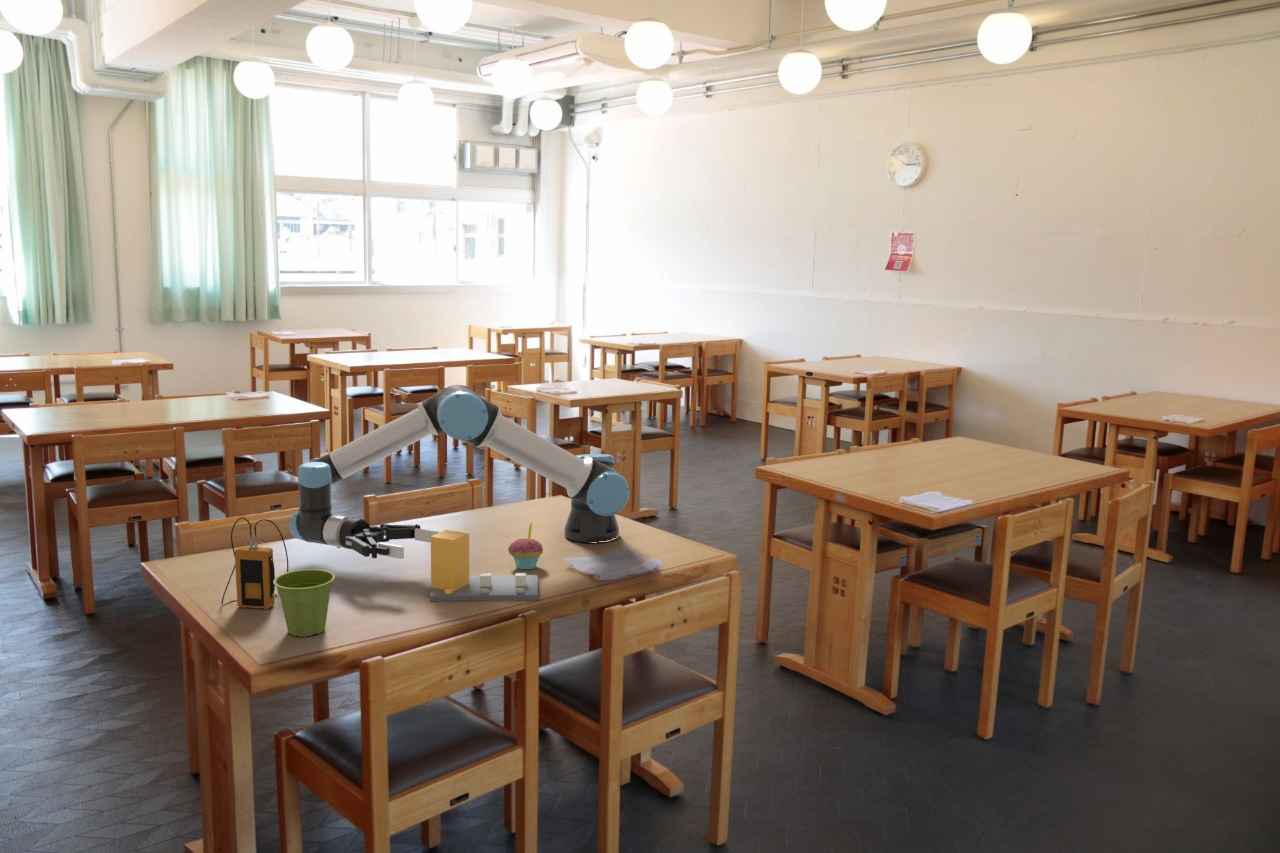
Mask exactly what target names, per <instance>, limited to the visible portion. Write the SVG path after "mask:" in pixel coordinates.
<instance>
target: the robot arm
mask: <svg viewBox="0 0 1280 853" xmlns="http://www.w3.org/2000/svg"><path fill="white" fill-rule="evenodd" d="M442 433H445V434H446V435H447V436H449V437H450V438H452V439H455V440H457V441H463V442H465V443H468V444H469V445H471V446H472V447H475V448H482V447H487V448H490V449H491V450H493V451H495V452H497V453H499V454H500V455H503V456H505V457H506V458H509V459H510V460H512V461H514V462H516V463H518V464H519V465H521V466H524V468H525V467H526V468H527V469H529V470H531V471H533V472H534V473H537V474H539V475H541V476H542V477H544V478H546V479H548V480H550V481H552V482H553V483H555V484H557V485H560V487H563V488H565V489H566V493H567V496H568V497H569V498H571V499H570V501H571V502H570V504H571V505H570V507H571V508H570V511H569V514H568V517H567V519H566V523H565V526H564V534H563V535H565V536H564V538H565V539H567V538H568V539H567V540H569V539H570V540H569V541H571V540H574V541H573V542H575V541H580V542H579V543H581V542H599V541H607V540H611V539H613V538H616V537H617V536H618V535H619V536H620V527H619V525H618V521H617V520H618V519H617V517H616V514H618V513H620V512H621V511H622V510H623V509H624V508H625V507H626V505H627V504H628V502H629V498H630V493H631V491H630V486H629V483H628V481H627V479H626V478H625V476H624V475H622V474H621V473H620V472H618V471H617V470H616V469H615V465H616V462H615V457H614V456H613V455H611V454H607V453H590V454H589V453H586V454H578V455H575V454H573V453H572V452H570V451H568V450H566V449H564V448H563V447H561V446H559V445H557V444H555V443H554V442H551V441H550V440H547V439H546V438H544V437H542V436H541V435H538V434H537V433H535V432H533V431H531V430H529V429H528V428H526V427H524V426H522V425H520V424H519V423H517V422H514V421H513V420H511V419H509V418H508V417H505V416H503V414H502V411H501V408H500V406H498V405H496V404H495V403H492V402H491V401H489V400H487V399H485V398H483V397H481V396H480V395H478V394H477V393H476V391H474V390H473V389H472V388H470V387H469V386H467V385H462V384H453V385H449V386H447V387H445V388H443V389H441V390H440V391H438V392H436V393H435V394H433V395H431V396H430V397H428V398H425V400H422V401H420V402H419V404H418V407H416V408H415V409H413V410H411V411H410V412H408V413H405V414H403V415H401V416H400V417H398V418H396V419H394V420H392V421H389V422H388V423H386V424H384V425H382V426H380V427H378V428H376V429H374V430H372V431H370V432H368V433H366V434H364V435H363V436H360V437H358V438H356V439H354V440H352V441H351V442H349V443H346V444H345V445H342V446H340V447H339V448H337V449H335V450H332V451H331V452H329V453H327V454H325V455H323V456H321V457H315V458H312V459H311V460H309V461H307V462H305V463H302V464H300V465H299V467H298V471H297V472H298V475H297V482H298V501H299V506H298V510H296V511H295V512H294V513H293V514H292V515H291V516H290V522H289V524H288V527H289V531H290V534H291V535H292V537H294V539H296V540H300V541H303V542H306V543H314V544H320V545H326V546H332V547H336V548H337V549H341V548H344V549H348V550H352V551H354V552H356V553H358V554H360V555H361V556H364V557H365V558H368V557H370V556H371V558H372V559H378V556H383V557H390V558H393V559H394V558H395V559H401V560H403V559H404V558H405V548H404V546H403V545H398V544H393V543H388V542H389V541H390V540H391V541H392V540H409V539H410V540H411V539H412V540H413V539H414V541H417V542H418V541H419V542H425V543H430V544H431V536H433V535H435V534H438V533H440V532H439V531H436V530H431V529H430V530H429V529H423V528H421V525H419V524H415V525H412V524H385V523H382V524H380V525H379V526H376V525H374V526H371V525H369V522H368V521H367V520H366V519H363V518H360V517H359V518H358V517H354V516H353V517H351V516H349V515H348V516H347V515H341V514H335V513H334V514H333V513H332V509H333V508H332V506H333V505H332V486H334V485H335V484H336V483H339V482H341V481H342V480H344V479H346V478H348V477H350V476H352V475H354V474H356V473H358V472H360V471H361V470H363V469H365V468H367V467H369V466H371V465H373V464H376V463H378V462H379V461H382V460H383V459H385V458H387V457H389V456H391V455H393V454H395V453H397V452H399V451H402V450H403V449H404V448H407V447H408V446H411V445H412V444H415V443H416V442H419V441H420V440H423V439H425V438H426V437H428V436H430V435H435V436H439V435H440V434H442Z"/></svg>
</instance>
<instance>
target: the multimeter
mask: <svg viewBox="0 0 1280 853" xmlns="http://www.w3.org/2000/svg"><path fill="white" fill-rule="evenodd" d="M241 519H242V520H245V521H246V522H247V523H248V525H249V534H250V535H249V546H244V545H242V546H241V547H239V548H237V549H235V547H234V543H233V541H234V540H233V532H234V528H235V526H236V524H237V523H238V522H239V521H240V520H241ZM263 521H265V522H266V521H267V522H270V523H271V524H273V526H275V528H276V530H277V531H278V532H279V535H280V537H281V541H282V543H283V546H284V551H285V556H286V573H287V572H289V558H288V551H287V547H286V544H285V539H284V536H283V535H282V532H281V530H280V528H279V527H278V525H277V524H276V523H275V522H274V521H272V520H270V519H265V518H263V519H259V520H258V521H256V523H255V525H254V542H253V536H252V525H251V522H250V521H249V520H248V519H247V518H246V517H239V518H238V519H237V520H236V521H235V522H234V524H233V525H232V528H231V531H230V532H231V533H230V541H231V542H230V543H231V548H232V552H233V556H234V567H233V569H232V571H231V574H230V576H229V579H228V582H227V584H226V586H225V590H224V592H223V595H222V599H221V603H220V604H221V605H222V604H224V598H225V595H226V593H227V589H228V586H229V584H230V581H231V579H232V577H233V574H234V571H235V585H236V586H235V587H236V599H237V601H236V602H237V605H236V606H237V607H238V606H239V607H244V608H246V607H250V608H251V609H262V608H264V609H263V610H269V609H270V608H272V607H273V606H275V597H278V596H279V594H278V593H275V588H276V586H275V585H274V583H273V581H274V579H275V578H276V575H275V574H276V573H275V570H276V569H275V563H274V551H273V550H274V549H273V548H272V547H259V545H258V541H257V525H258V524H259V523H260V522H263ZM253 543H254V544H253ZM274 596H275V597H274ZM239 607H238V608H239ZM250 608H249V609H250Z"/></svg>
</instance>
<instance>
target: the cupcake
mask: <svg viewBox="0 0 1280 853" xmlns="http://www.w3.org/2000/svg"><path fill="white" fill-rule="evenodd" d="M532 528H533V525H532V521H531V522H530V524H529V526H528V532H527V538H525V537H524V538H518V539H516V540H514V541H512V542H511V543H510V545H509V546H508V549H507V550H508V551H507V552H508V554H509V555H510V556H512V558H513V560H514V562H515V565H516V566H515V567H516V568H517V569H518V568H520V569H519V570H522V569H530V570H533V569H532V568H534V569H535V568H537V563H538V560H539V558H540V556H541V555H542V554H543V553H544V552H543V551H544V549H543V545H542V544H541V542H539V541H537V540H536V539H534V538H532Z"/></svg>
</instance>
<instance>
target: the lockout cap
mask: <svg viewBox="0 0 1280 853" xmlns="http://www.w3.org/2000/svg"><path fill="white" fill-rule="evenodd" d="M469 576H470V532H469V533H467V532H463V531H456V530H450V529H445V530H443V531H441V532H439V533H438V534H435V535H433V536H431V543H430V587H431V588H432V587H433V588H438V589H443V590H445V589H452V590H453V591H456V590H458V589H460V588H462V587H464V586H466V585H468V584H469Z"/></svg>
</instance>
